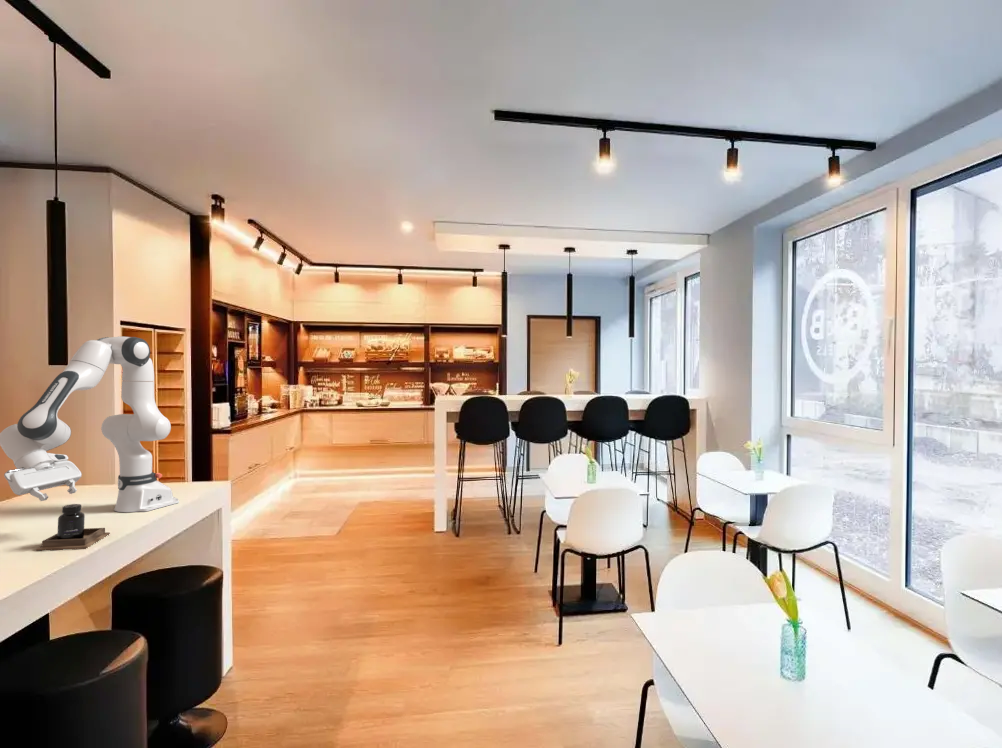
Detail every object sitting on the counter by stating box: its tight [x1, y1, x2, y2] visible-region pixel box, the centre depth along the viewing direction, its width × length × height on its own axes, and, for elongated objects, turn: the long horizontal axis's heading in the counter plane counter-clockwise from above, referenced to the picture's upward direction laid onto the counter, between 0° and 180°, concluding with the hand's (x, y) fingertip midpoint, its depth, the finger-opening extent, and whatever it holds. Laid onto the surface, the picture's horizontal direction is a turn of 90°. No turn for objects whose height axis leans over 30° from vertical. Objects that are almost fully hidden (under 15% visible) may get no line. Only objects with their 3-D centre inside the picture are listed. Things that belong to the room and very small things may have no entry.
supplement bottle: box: [56, 503, 86, 540], centre depth 169 cm, size 7×7×12 cm
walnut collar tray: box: [35, 527, 111, 552], centre depth 171 cm, size 14×14×3 cm
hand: (59, 495), depth 172 cm, fingers open, 8 cm apart
